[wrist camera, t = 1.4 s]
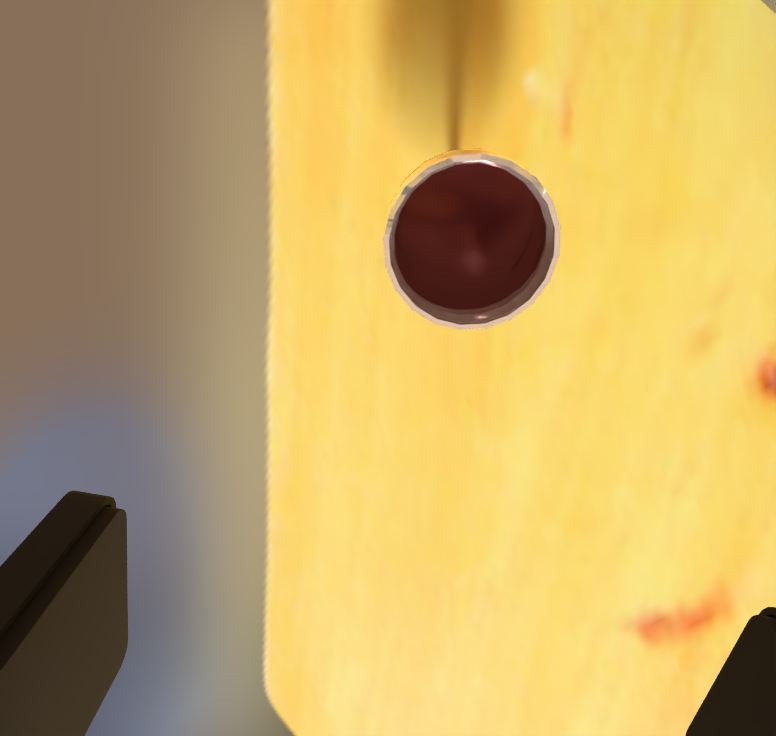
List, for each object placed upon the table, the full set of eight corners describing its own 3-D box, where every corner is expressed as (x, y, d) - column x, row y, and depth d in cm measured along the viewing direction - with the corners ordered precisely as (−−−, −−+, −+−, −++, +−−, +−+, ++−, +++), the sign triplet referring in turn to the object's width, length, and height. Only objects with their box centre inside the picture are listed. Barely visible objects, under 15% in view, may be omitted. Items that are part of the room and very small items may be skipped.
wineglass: (524, 246, 34) (572, 312, 23) (408, 271, 35) (403, 346, 24) (506, 122, 32) (550, 131, 21) (381, 152, 33) (362, 176, 22)
